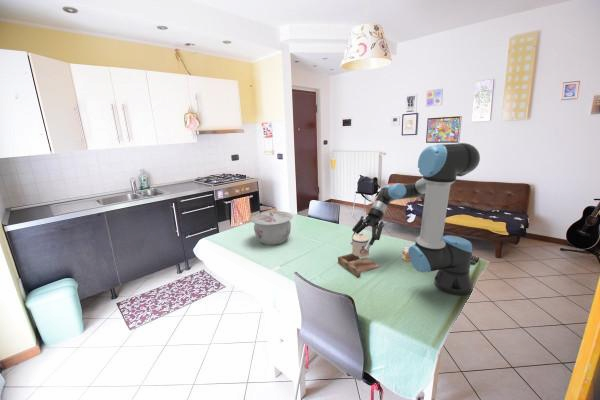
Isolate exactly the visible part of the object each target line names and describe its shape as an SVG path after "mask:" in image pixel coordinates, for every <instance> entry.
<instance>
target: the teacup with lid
mask: <svg viewBox="0 0 600 400" xmlns="http://www.w3.org/2000/svg"><path fill="white" fill-rule="evenodd" d="M363 233H364V232H360V233H359V234H357V235H354V236H353V235H352V236H353V237H352V236H351V240H352V245H351V247H352V250H351V251H352V253H353V255H355V256H358V257H359V258H365V257H368V256H369V255H370V249H369V250H368V251H366V250H365V249H364V248H365V247H366V245H367V243H368V241H369V239H370V238H371V237H369V235H366V234H363Z"/></svg>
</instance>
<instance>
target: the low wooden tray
mask: <svg viewBox="0 0 600 400" xmlns="http://www.w3.org/2000/svg"><path fill="white" fill-rule="evenodd" d="M337 263H338V264H339V265H340V266H342V267H343V268H345V269H346V270H347V271H349V272H350V273H351V274H352V275H354V276H355V277H356V278H361V273H365V272H368V271H371V270H374V269H378V268H381V265H379V264H377V263H376V262H374V261H373V260H371V259H369V258H368V257H367V256H365V257H361V258H360V257H358V256H355V255H353V253H349V254H345V255H341V256H338V257H337Z"/></svg>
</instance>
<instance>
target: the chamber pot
mask: <svg viewBox="0 0 600 400" xmlns="http://www.w3.org/2000/svg"><path fill="white" fill-rule="evenodd" d="M292 219H293V215H292V214H291V213H289V212H286V211H277V210H271V211H270V210H269V211H265V212H260V213H257V214H255V215H253V216H252V217H251V218H250V221H251V223H253V224H254V225H253V231H254V234H255V236H256V239H258V240H259V242H260V243H262V244H264V245H268V246H271V245H272V246H273V245H274V246H276V245H280V244H282V243H284V242H285V241H287V239H288V238H289V236H290V234H291V229H292V222H291V220H292Z"/></svg>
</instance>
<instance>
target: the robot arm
mask: <svg viewBox="0 0 600 400" xmlns="http://www.w3.org/2000/svg"><path fill="white" fill-rule="evenodd" d="M480 161H481V156H480V152H479V150H478V148H476V147H475V146H474V145H472V144H470V143H466V142H459V143H447V144H446V143H445V144H444V143H443V144H435V145H434V144H433V145H428V146H427V147H425V148H424V149H423V150H422V152H421V153H420V155H419V157H418V161H417V168H418V173H420V174H421V176H422V178H420V179H418V180H417V181H415V182H413V183H403V184H402V183H393V184H392V185H390V184H384V185H383V186H381V188H380V190H379V192H378V194H377V196H376V198H375V199H374V202H373V203H372V205H371V208H370V209H369V212H367V216H366V217H365V216H363V215H361V216H360V219H359V220H358V221H357V222H356V224H355V226H353V227H352V232H353V234H352V236H351V238H352V237H353V236H354V235H357V234H359V233H362V231H363V230H365V229H366V228H368V227H371V237H369V238H370V239H369V241H368V243H367V245H366V247H365V248H364V249H365V250H366V251H368V250H369V251H370V248H371V246H373V245H374V243H375V241H380V239H381V237H382V236H381V235H382V231H383V228H384V226H385V223H384V221H381V220H382V219H383V217H384V215H385V213H386V211H387V209H388V208H389V205H390V203H391V202H393V201H396V200H404V199H415V198H423V197H424V199H423V201H424V202H423V209H422V216H421V217H422V218H421V224H420V231H419V232H420V233H419V235H418V236H417V237H415V242H414V243H415V244H414V245H413V244H412V245H410V246H409V247H408V250H407V251H408V252H407V254H408V255H407V256H408V259H409V261H410V263H411V265H412V268H414V269H415V270H416V271H417V272H420V273H429V272H434V271H435V272H436V271H437V272H436V274H435V276H434V281H433V282H434V286H435V287H436V288H437V289H438V290H441V292H444V293H447V294H449V295H453V296H465V295H469V294H470V293H472V291H473V284H472V279H471V276H470V268H471V262H472V255H473V244H472V242H471V241H470V240H467V239H466V238H463V237H461V236H457V235H444V231H445V230H444V229H445V224H446V219H447V210H448V204H449V197H450V190H451V186H452V185H453V184H454V183H456V181H457V177H464V176H466V175H467V174H469V173H471V172H473V171H475V169H476V168H477V167H478V166H479V164H480ZM377 226H378V227H377ZM349 244H350V245H351V246H352V239H351V240H350V242H349Z"/></svg>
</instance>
